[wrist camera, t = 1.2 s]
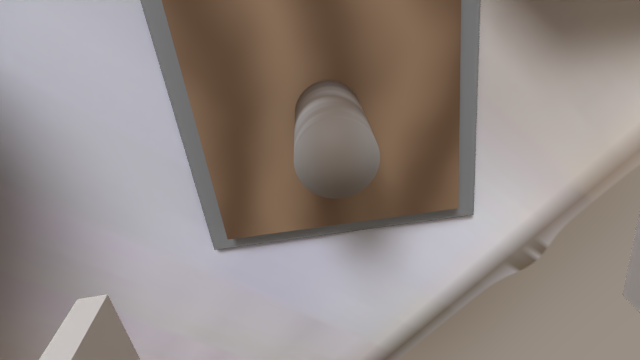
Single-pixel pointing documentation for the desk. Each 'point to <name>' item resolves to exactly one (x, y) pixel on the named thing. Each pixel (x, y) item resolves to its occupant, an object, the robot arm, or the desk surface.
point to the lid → (323, 107)
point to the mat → (211, 211)
